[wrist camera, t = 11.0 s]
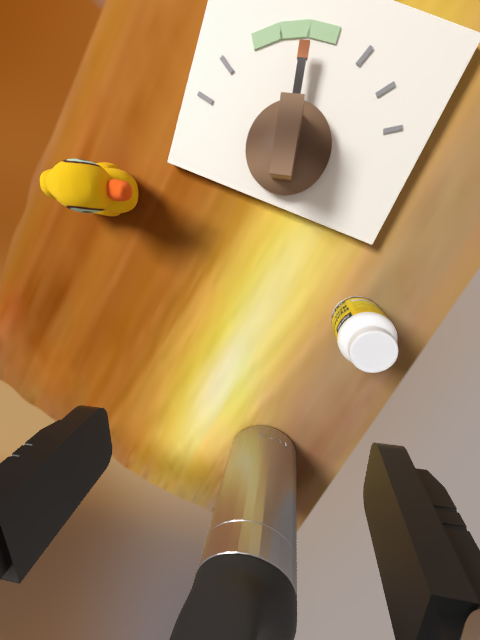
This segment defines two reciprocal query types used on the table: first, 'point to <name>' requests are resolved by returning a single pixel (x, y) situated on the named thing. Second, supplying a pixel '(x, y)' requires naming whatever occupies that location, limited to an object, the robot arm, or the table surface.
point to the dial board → (322, 97)
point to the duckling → (90, 187)
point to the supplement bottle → (364, 334)
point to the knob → (289, 140)
